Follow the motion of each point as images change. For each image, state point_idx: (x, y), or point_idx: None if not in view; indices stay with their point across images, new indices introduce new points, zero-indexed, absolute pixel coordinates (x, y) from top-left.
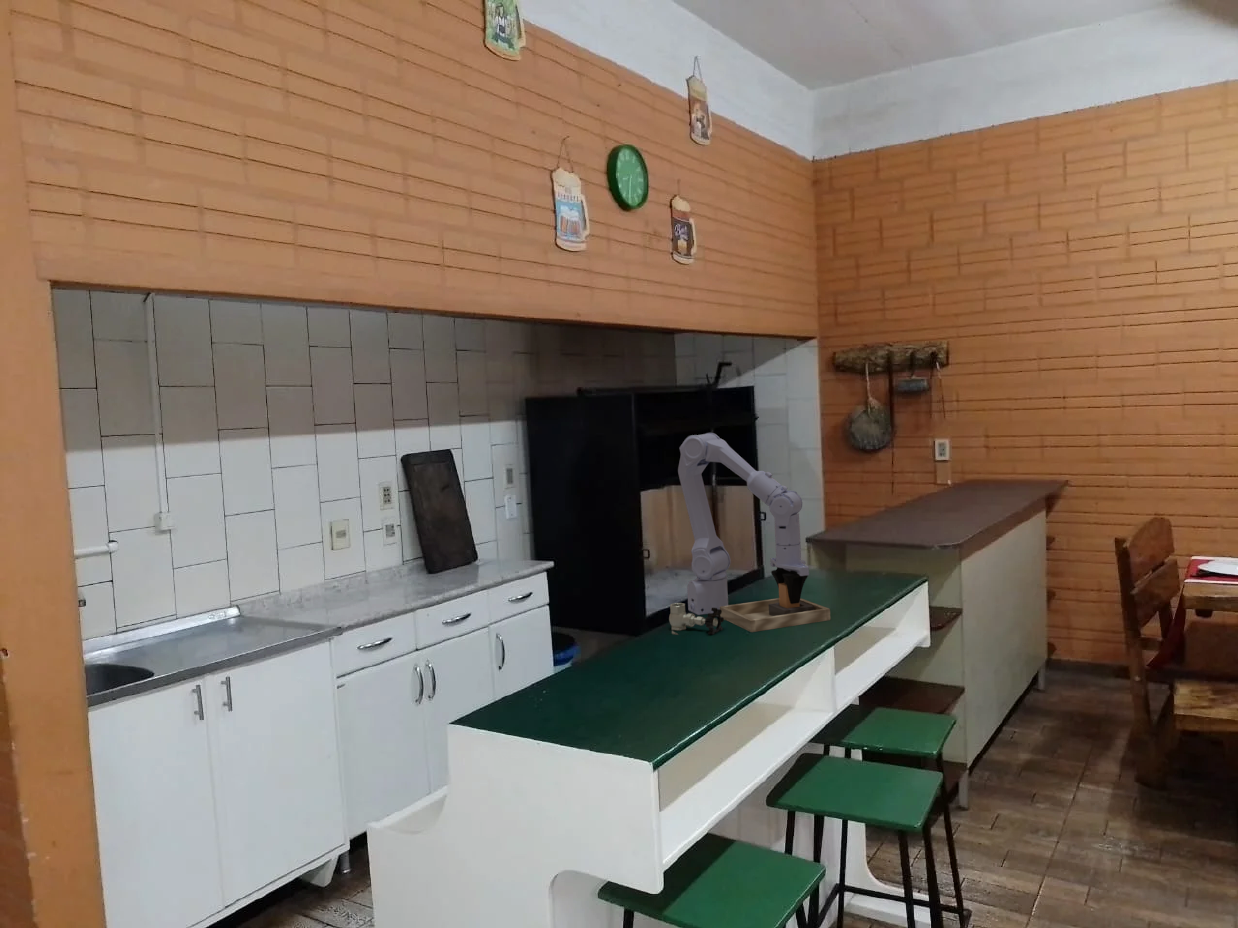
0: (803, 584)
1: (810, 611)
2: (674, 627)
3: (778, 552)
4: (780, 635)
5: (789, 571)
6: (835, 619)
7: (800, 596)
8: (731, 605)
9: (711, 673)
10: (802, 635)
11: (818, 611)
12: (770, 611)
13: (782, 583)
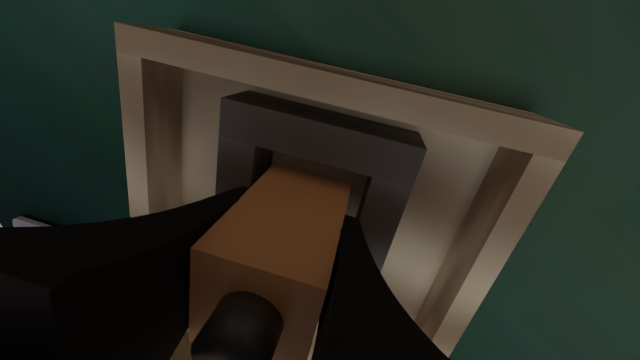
0: (401, 306)
1: (501, 255)
2: None
3: None
4: (456, 352)
5: (95, 343)
6: (490, 10)
7: (363, 235)
8: None
9: None
10: (532, 319)
11: (531, 211)
12: None
13: (202, 325)
